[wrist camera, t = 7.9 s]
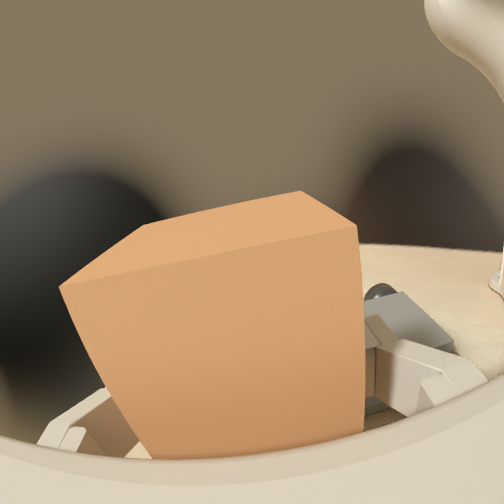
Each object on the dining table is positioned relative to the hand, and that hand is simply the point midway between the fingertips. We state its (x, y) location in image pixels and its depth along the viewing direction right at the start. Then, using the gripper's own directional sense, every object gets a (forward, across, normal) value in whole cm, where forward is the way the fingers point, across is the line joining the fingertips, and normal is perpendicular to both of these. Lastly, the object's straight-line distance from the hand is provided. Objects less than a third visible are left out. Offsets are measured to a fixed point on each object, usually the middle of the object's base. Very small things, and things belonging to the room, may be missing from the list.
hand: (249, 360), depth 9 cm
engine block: (-1, 0, +6) cm, 6 cm away
